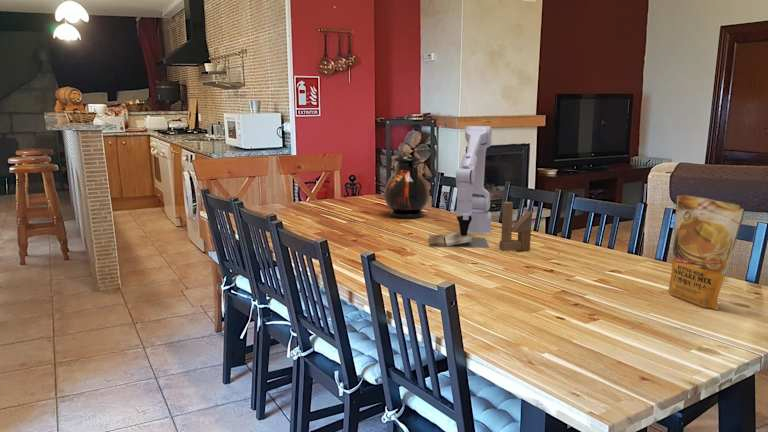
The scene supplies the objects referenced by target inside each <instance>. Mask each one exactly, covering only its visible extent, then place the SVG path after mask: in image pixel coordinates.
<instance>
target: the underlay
mask: <svg viewBox="0 0 768 432" xmlns="http://www.w3.org/2000/svg"><path fill="white" fill-rule="evenodd" d="M445 242H446V240H445ZM429 247H430V248H466V249H467V248H473V249H474V248H475V249H477V248H478V249H480V248H482V249H487V248H488V249H490V245H489V243H488V241H487V240H486V238H485V237H472V242H466V243H461V244H456V245H451V246H447V245H446V246H430V245H429Z"/></svg>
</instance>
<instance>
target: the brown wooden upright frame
mask: <svg viewBox="0 0 768 432" xmlns="http://www.w3.org/2000/svg"><path fill="white" fill-rule="evenodd" d="M513 207H514V203H513V202H512V201H502V215H501V216H502V217H501V240H499V245H498V246H499V247H498V248H499V250H501V251H502V252H507V251H516V252H525V251H526V252H527V251H528V252H529V251H531V237H532V234H531V232H532V219H533V217H532V216H533V213H532V212H531V211H526V212H525V213H523V214H522V216H521V217H520V218H519V219H518V220H517V221H516V223H514V224H513V209H514V208H513ZM512 233H517V239H512Z"/></svg>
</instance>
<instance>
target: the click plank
mask: <svg viewBox="0 0 768 432" xmlns="http://www.w3.org/2000/svg"><path fill="white" fill-rule="evenodd" d="M444 237H445V240H446V245H447V246H451V245H456V244H461V243H466V242H472V238H473V237H472V235H471V233H470V232H469V230H468V232H467V235H466V236H463V235H461V233H460V231H457V232H453V233H448V234H444Z"/></svg>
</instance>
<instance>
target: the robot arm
mask: <svg viewBox="0 0 768 432" xmlns="http://www.w3.org/2000/svg"><path fill="white" fill-rule="evenodd" d="M492 130H493V129H492V127H491V126H490V125H488V126H487V125H486V126H485V125H484V126H483V125H480V126H479V125H477V126H476V125H467V126H466V127H465V131H464V132H465V133H464V138H465V140H466V143H467V148H466V149H467V150H466V153H464V154H463V155H462V159H461V162H460V166H459V168H458V169H457V170H456V171H455V185H456V189H457V190H456V195H457V196H456V210H453V214H455V215H456V214H457V215H458V216H456V219H457V221H458V225H459V232H460V233H461V235H463V236H466V235H467V232H468V230H469V232H470V234H491V231H492V213H491V211H489V210H490V207H491V194H490V191H488V190H487V189H486V188H485V187H484V184H485V168H486V166H485V165H486V152H487V148H489V147H492V139H493V138H492V135H493V134H492V133H493V132H492Z"/></svg>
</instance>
